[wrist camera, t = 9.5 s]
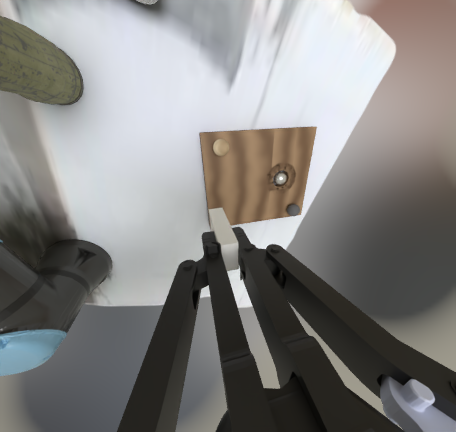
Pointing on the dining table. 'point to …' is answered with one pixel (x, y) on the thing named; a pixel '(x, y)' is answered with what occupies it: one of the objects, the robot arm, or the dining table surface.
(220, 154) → the beech ball
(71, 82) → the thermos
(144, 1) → the donut
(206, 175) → the walnut plate
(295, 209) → the black rubber ball
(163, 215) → the dining table surface
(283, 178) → the steel ball
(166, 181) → the dining table surface
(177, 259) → the dining table surface
